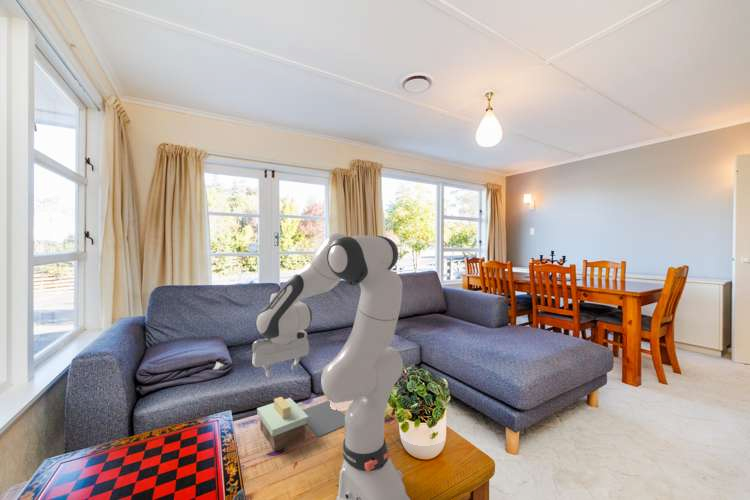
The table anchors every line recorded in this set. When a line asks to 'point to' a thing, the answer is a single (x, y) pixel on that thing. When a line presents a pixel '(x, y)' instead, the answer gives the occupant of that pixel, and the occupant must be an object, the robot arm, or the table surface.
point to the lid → (282, 416)
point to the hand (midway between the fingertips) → (281, 372)
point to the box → (283, 436)
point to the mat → (324, 418)
